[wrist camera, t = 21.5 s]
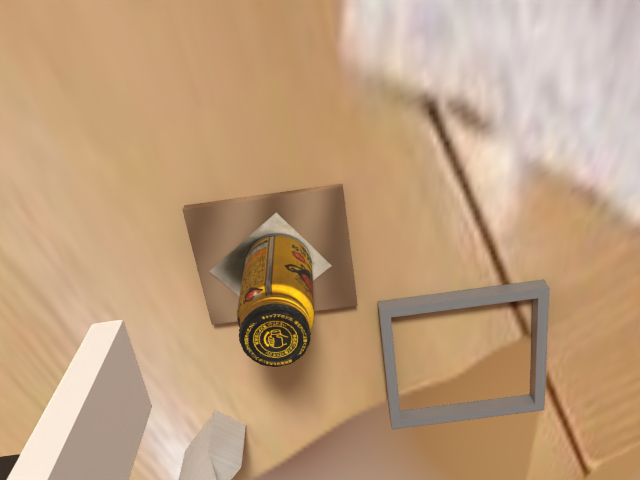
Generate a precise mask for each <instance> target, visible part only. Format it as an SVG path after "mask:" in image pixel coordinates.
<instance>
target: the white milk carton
mask: <svg viewBox="0 0 640 480" xmlns="http://www.w3.org/2000/svg"><path fill="white" fill-rule="evenodd" d="M245 429H246V424H245V423H242V422H240V421H238V420H236V419H234V418H232V417H229V416H227V415H225V414H223V413H221V412H219V411H217V410H215V412H214V413H213V414H212V416H211V417H210V418H209V420H208V421H207V422H206V424H205V425H204V426H203V428H202V429H201V430H200V432H199V433H198V434H197V436H196V437H195V438H194V440H193V441H192V442H191V444H190V445H189V447H188V448H187V449H186V451H185V454H184V459H183V463H182V468H181V472H180V477H179V480H231V479H232V478H233V477H234V476H235V474H236V473H237V472H238V471H239V469H240V468H241V466H242V456H243V447H244V438H245Z"/></svg>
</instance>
